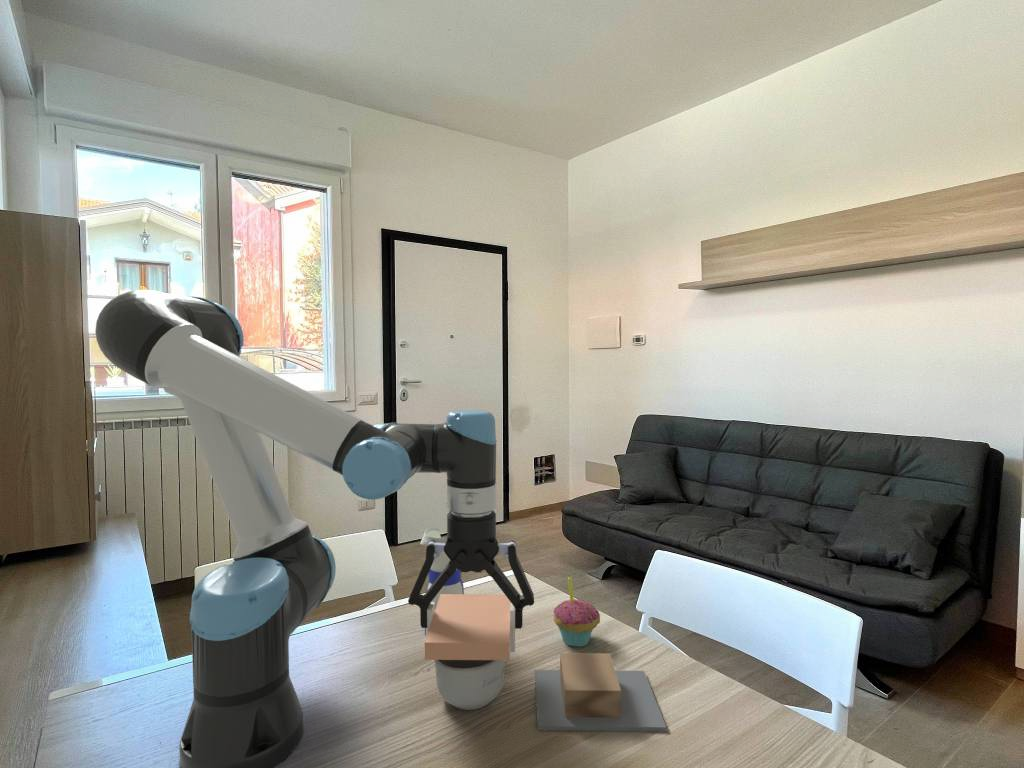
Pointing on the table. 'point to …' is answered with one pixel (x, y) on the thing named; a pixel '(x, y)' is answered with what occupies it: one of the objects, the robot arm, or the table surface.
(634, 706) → the mat
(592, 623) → the cupcake
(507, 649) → the lid
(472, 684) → the teacup
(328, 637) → the table surface
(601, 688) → the brown wooden block
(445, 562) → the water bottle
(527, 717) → the table surface
